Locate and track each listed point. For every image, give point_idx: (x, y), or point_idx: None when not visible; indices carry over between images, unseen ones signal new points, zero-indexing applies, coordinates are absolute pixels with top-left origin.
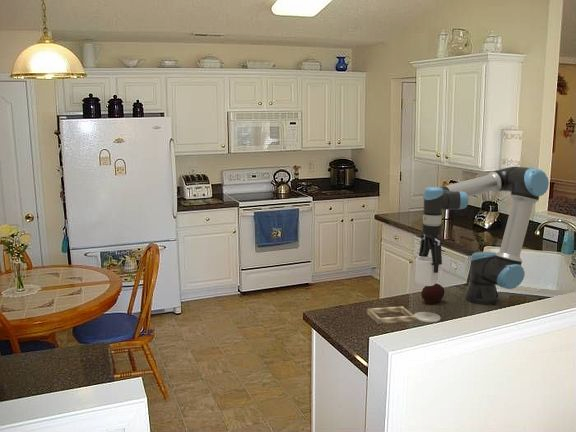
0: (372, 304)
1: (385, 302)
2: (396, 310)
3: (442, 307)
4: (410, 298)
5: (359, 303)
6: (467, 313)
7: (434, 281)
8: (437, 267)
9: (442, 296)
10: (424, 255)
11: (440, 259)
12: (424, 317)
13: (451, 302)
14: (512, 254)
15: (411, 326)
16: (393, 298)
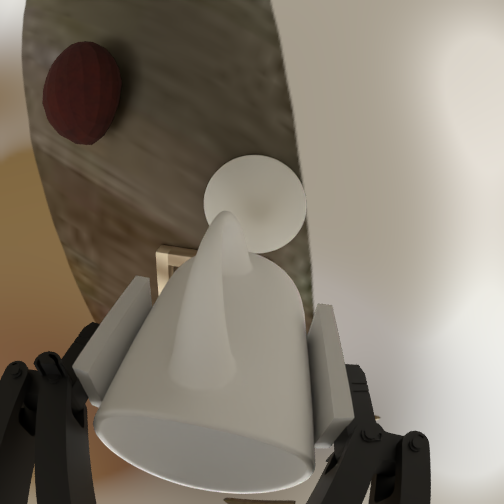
0: (101, 294)
1: (86, 252)
2: (171, 275)
3: (162, 77)
4: (59, 154)
5: (95, 317)
6: (259, 21)
7: (299, 299)
8: (367, 412)
9: (113, 58)
10: (81, 431)
11: (421, 484)
12: (264, 225)
13: (126, 23)
14: None
15: (307, 296)
16: (56, 209)
